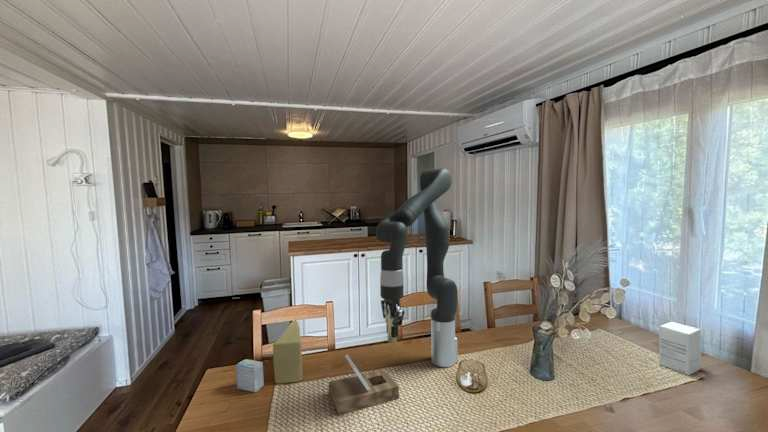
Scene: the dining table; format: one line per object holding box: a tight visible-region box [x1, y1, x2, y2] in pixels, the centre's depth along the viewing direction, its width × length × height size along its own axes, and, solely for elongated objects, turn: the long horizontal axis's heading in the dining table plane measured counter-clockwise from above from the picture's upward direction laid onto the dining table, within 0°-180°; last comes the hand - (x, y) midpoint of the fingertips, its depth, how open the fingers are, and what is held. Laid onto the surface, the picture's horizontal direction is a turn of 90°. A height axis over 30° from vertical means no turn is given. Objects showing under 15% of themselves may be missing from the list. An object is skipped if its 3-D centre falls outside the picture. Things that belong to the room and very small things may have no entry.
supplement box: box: [658, 321, 702, 376], centre depth 117 cm, size 9×9×15 cm
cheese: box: [272, 320, 303, 384], centre depth 123 cm, size 22×10×15 cm, turn 7°
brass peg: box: [386, 313, 398, 344], centre depth 104 cm, size 3×3×9 cm
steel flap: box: [344, 353, 370, 391], centre depth 103 cm, size 9×10×1 cm
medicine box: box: [235, 358, 265, 393], centre depth 110 cm, size 8×4×9 cm, turn 71°
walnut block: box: [328, 368, 400, 416], centre depth 104 cm, size 20×12×4 cm, turn 113°
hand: (392, 334), depth 104 cm, fingers closed on brass peg, 3 cm apart
